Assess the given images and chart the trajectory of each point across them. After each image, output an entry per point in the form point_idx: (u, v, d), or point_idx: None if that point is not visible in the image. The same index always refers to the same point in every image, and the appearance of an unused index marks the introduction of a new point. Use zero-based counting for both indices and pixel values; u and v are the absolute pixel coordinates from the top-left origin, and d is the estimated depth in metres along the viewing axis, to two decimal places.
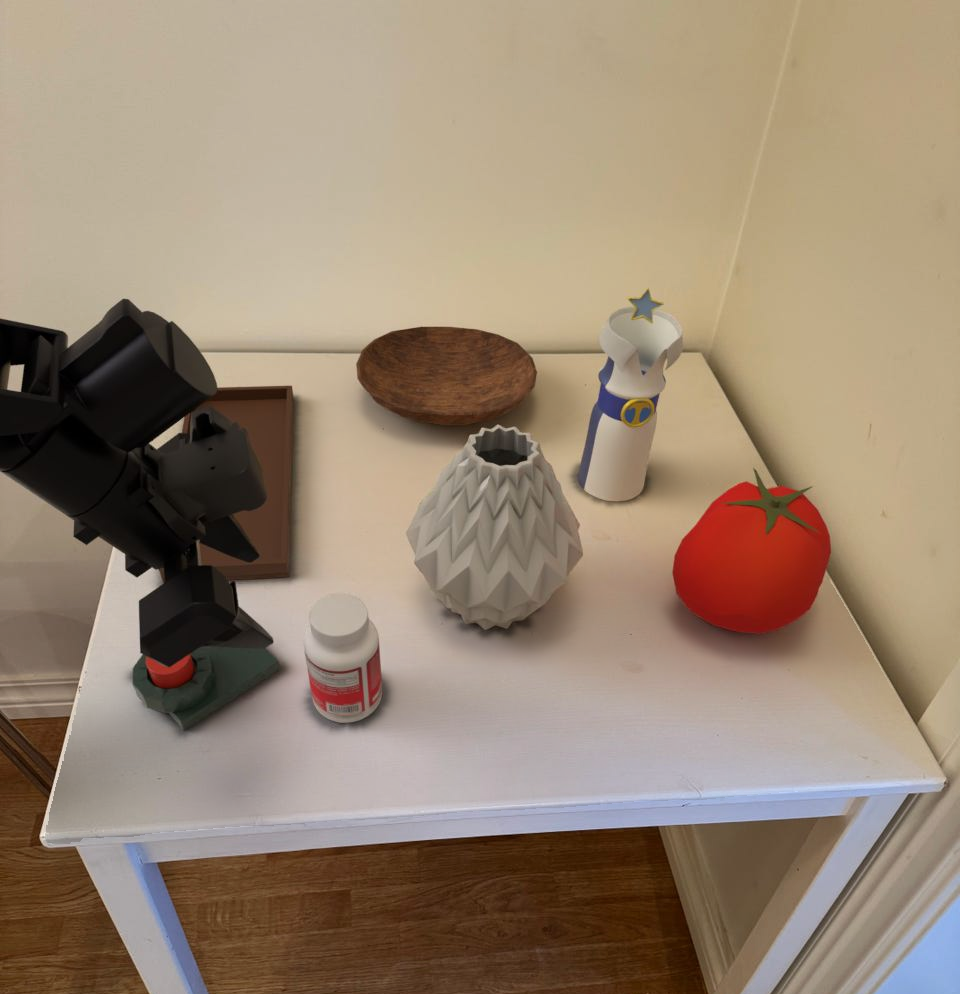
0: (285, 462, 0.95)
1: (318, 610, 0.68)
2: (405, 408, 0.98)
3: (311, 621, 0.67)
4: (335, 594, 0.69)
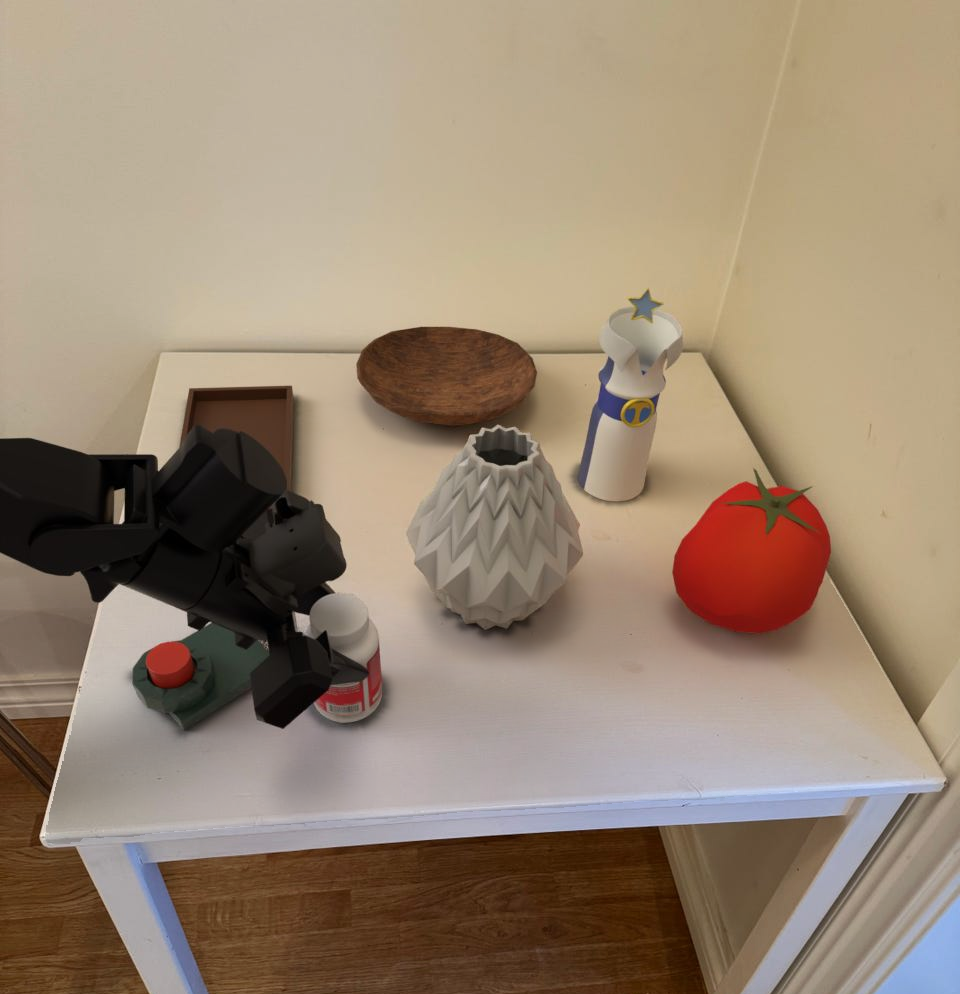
0: (285, 462, 0.95)
1: (318, 610, 0.68)
2: (405, 408, 0.98)
3: (312, 621, 0.67)
4: (335, 594, 0.69)
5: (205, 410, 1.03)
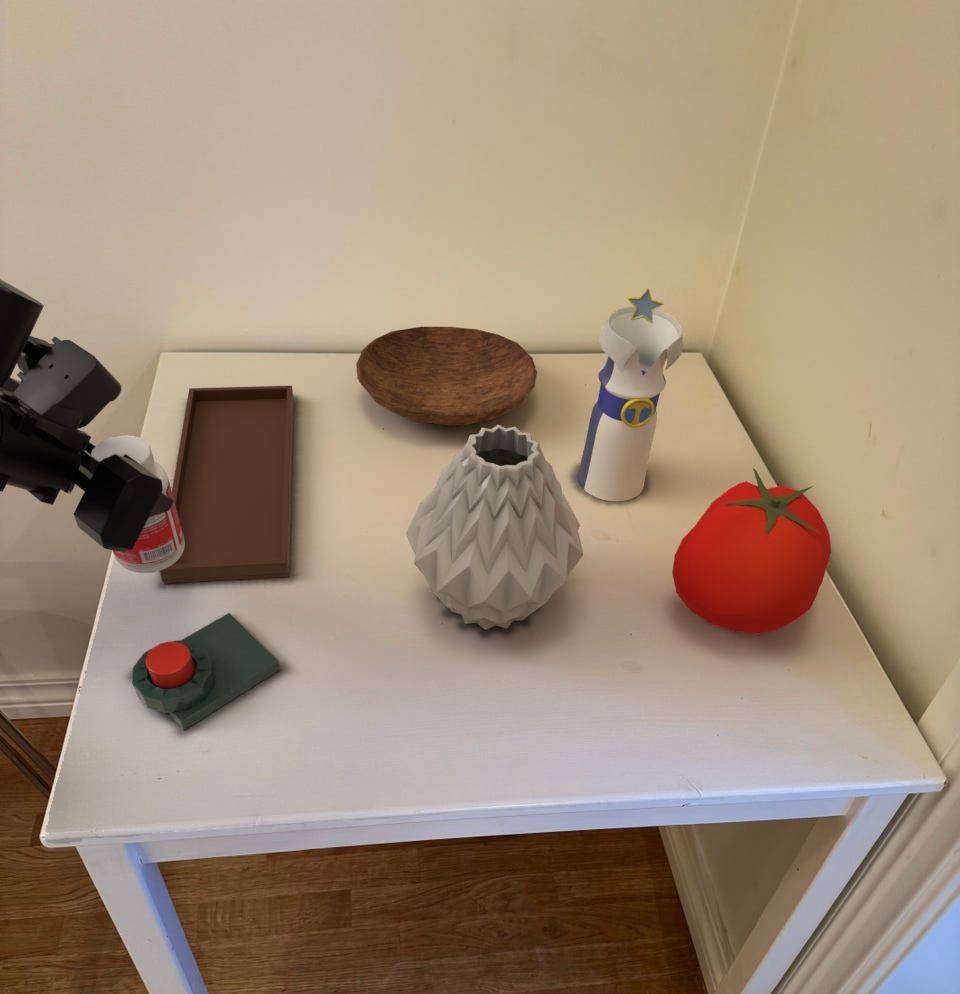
0: (285, 462, 0.95)
1: (99, 456, 0.69)
2: (405, 408, 0.98)
3: None
4: (106, 440, 0.70)
5: (205, 410, 1.03)
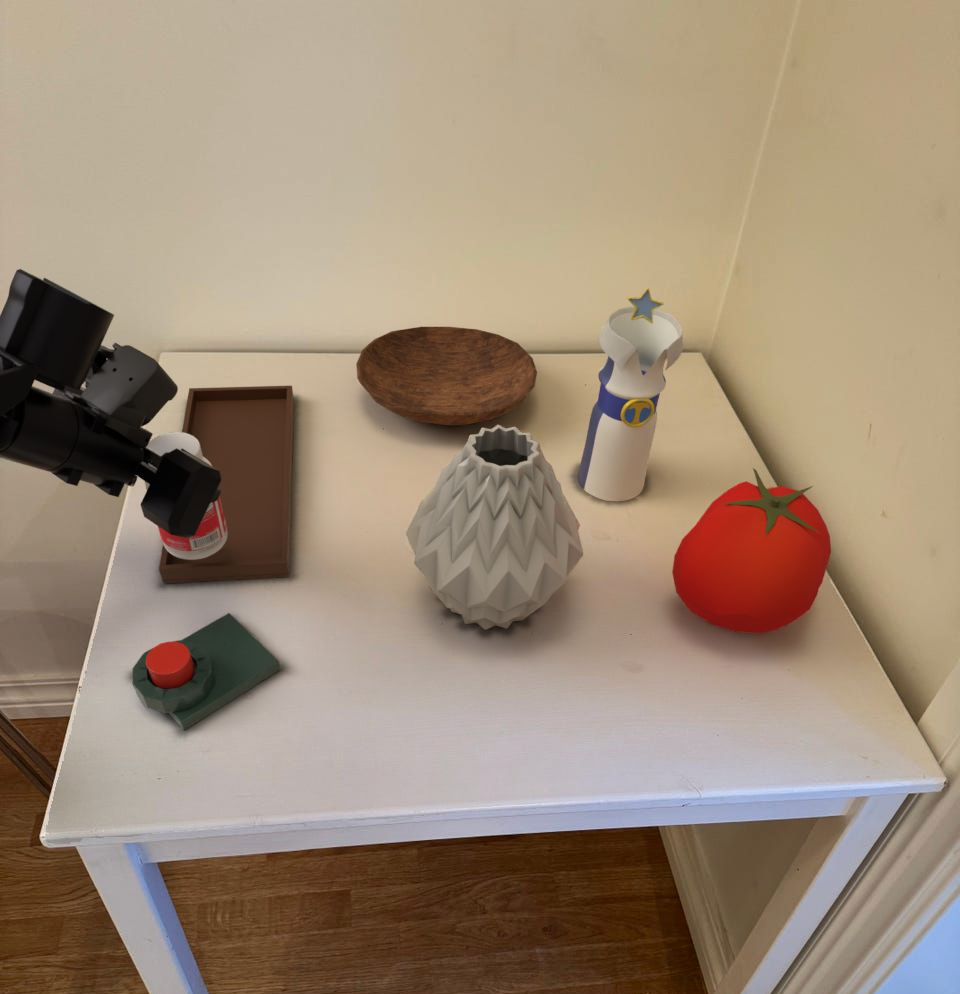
0: (285, 462, 0.95)
1: None
2: (405, 408, 0.98)
3: None
4: (157, 437, 0.76)
5: (205, 410, 1.03)
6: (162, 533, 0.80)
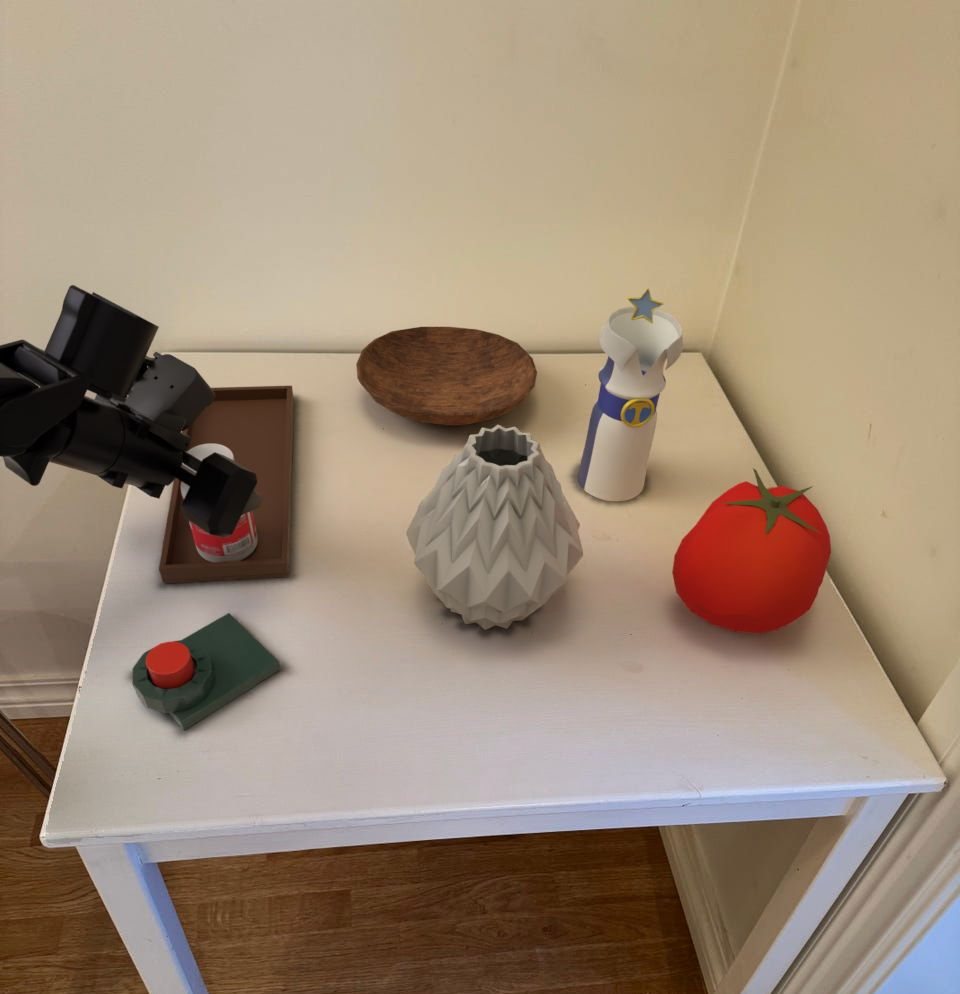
0: (285, 462, 0.95)
1: None
2: (405, 408, 0.98)
3: None
4: (193, 448, 0.80)
5: (205, 410, 1.03)
6: (196, 539, 0.84)
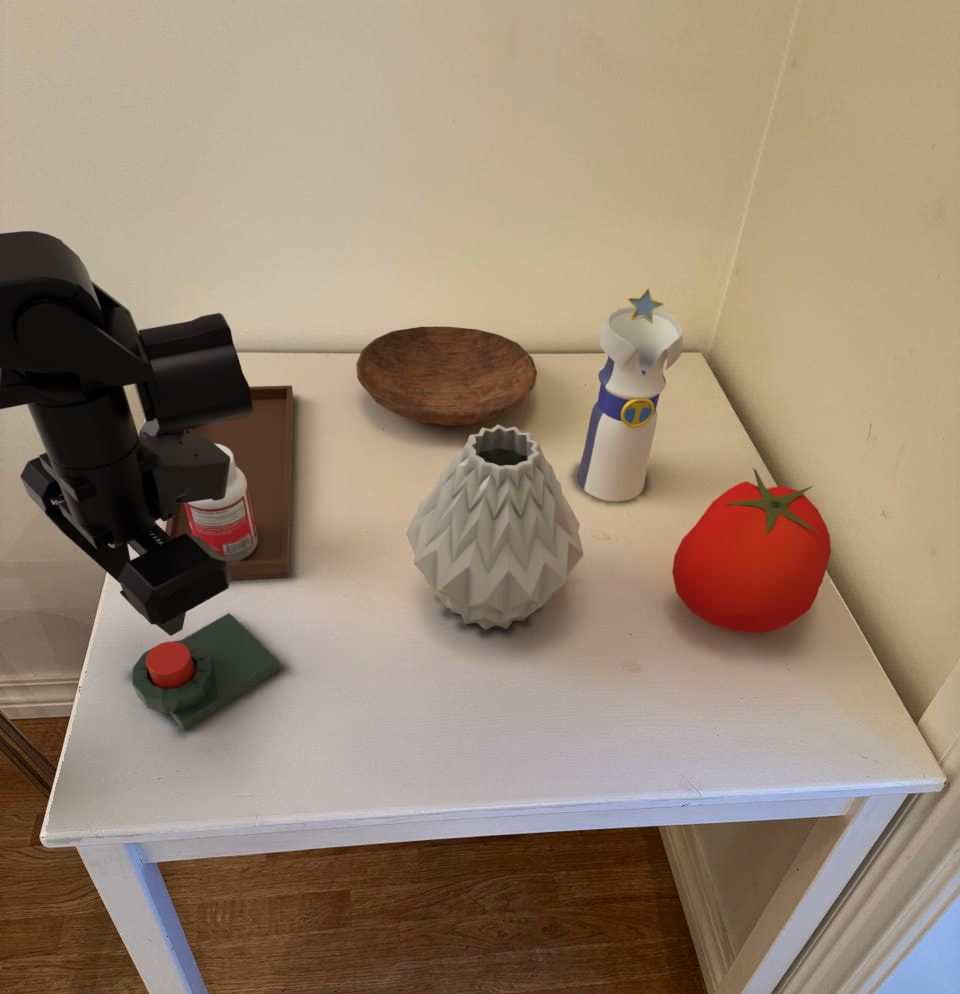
0: (285, 462, 0.95)
1: None
2: (405, 408, 0.98)
3: None
4: None
5: None
6: None
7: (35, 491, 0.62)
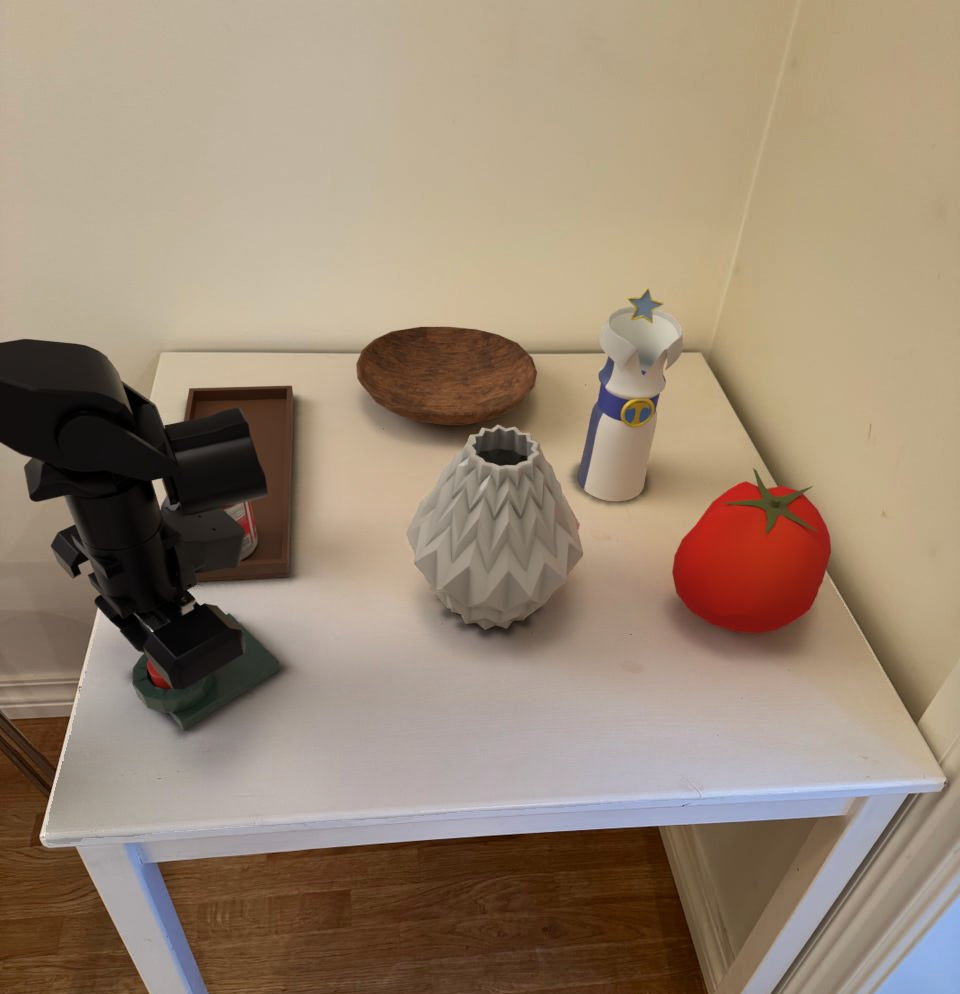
0: (285, 462, 0.95)
1: None
2: (405, 408, 0.98)
3: None
4: None
5: (205, 410, 1.03)
6: None
7: (65, 561, 0.67)
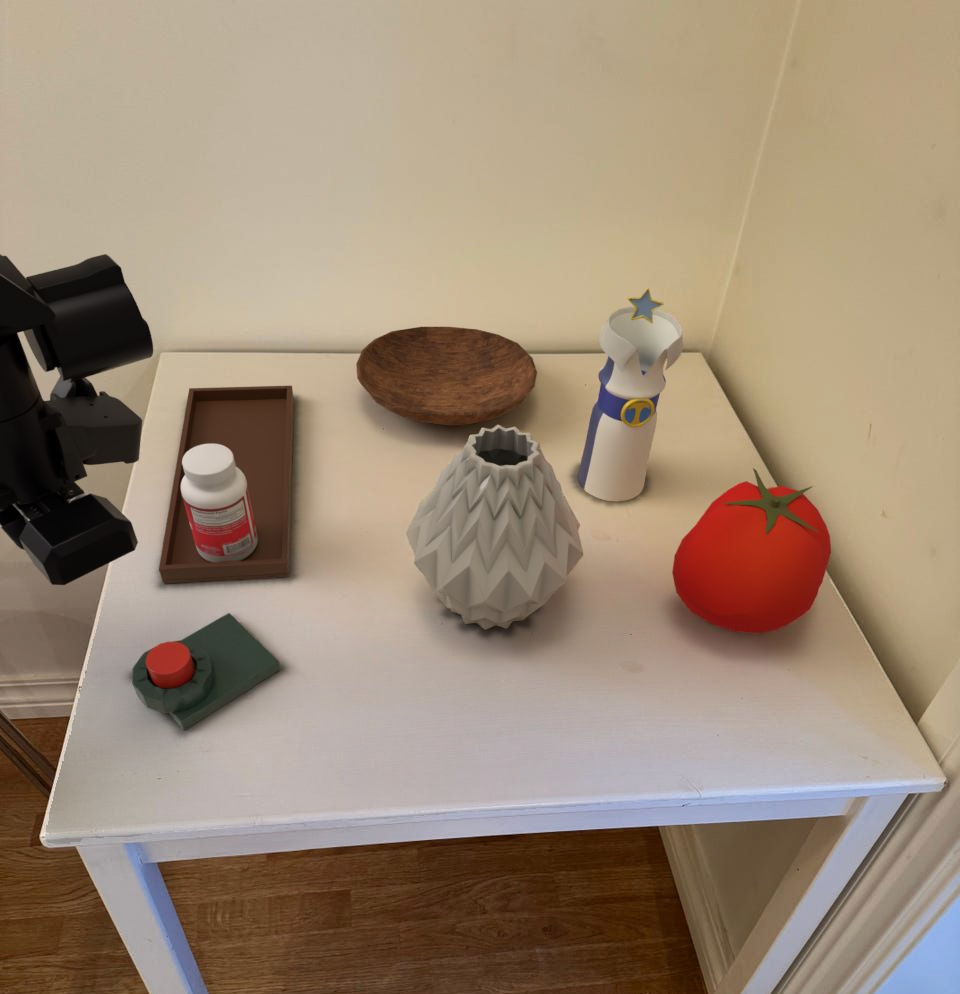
0: (285, 462, 0.95)
1: (189, 463, 0.79)
2: (405, 408, 0.98)
3: (191, 471, 0.78)
4: (193, 448, 0.80)
5: (205, 410, 1.03)
6: (196, 539, 0.84)
7: None
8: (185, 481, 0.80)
